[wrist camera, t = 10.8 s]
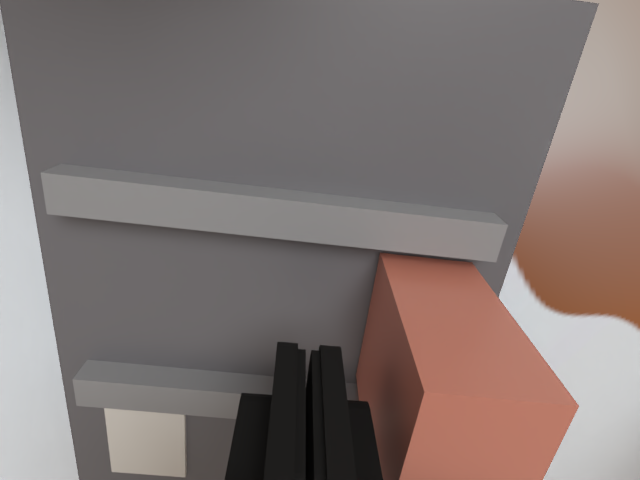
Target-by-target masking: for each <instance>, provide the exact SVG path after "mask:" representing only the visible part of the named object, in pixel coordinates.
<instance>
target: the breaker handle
mask: <svg viewBox="0 0 640 480" xmlns="http://www.w3.org/2000/svg"><path fill="white" fill-rule="evenodd" d="M356 380H357V388H358V396H359V401H368V403H369V406H370V410H371V416H372V421H373V427H374V432H375V438H376V443H377V449H378V454H379V460H380V465H381V471H382V476H383V480H543V478H544V476H545V474H546V472H547V470H548V468H549V466H550V464H551V462H552V460H553V458H554V456H555V454H556V452H557V450H558V448H559V446H560V444H561V442H562V440H563V437H564V435H565V433H566V431H567V429H568V427H569V425H570V423H571V421H572V419H573V417H574V415H575V413H576V411H577V409H578V407H579V405H578V404H577V403H576V401H575V400H574V399H573V397H572V396H571V395H570V393H569V392H568V391H567V389H566V388H565V387H564V385H563V384H562V383H561V381H560V380H559V379H558V377H557V376H556V374H555V373H554V372H553V370H552V369H551V368H550V366H549V365H548V364H547V362H546V361H545V360H544V358H543V357H542V356H541V354H540V353H539V352H538V350H537V349H536V348H535V346H534V345H533V344H532V342H531V341H530V340H529V338H528V337H527V336H526V334H525V333H524V332H523V330H522V329H521V328H520V326H519V325H518V324H517V322H516V321H515V320H514V318H513V317H512V316H511V314H510V313H509V311H508V310H507V309H506V307H505V306H504V305H503V303H502V302H501V301H500V299H499V298H498V297H497V295H496V294H495V293H494V291H493V290H492V289H491V287H490V286H489V285H488V283H487V282H486V281H485V279H484V278H483V277H482V275H481V274H480V273H479V271H478V270H477V269H476V267H475V266H474V265H473V263H472V262H462V261H453V260H444V259H434V258H425V257H416V256H406V255H397V254H388V253H380V256H379V261H378V266H377V271H376V276H375V281H374V286H373V291H372V296H371V301H370V306H369V311H368V317H367V322H366V327H365V332H364V337H363V342H362V347H361V352H360V357H359V362H358V367H357V372H356Z"/></svg>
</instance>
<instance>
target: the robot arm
mask: <svg viewBox="0 0 640 480" xmlns="http://www.w3.org/2000/svg"><path fill="white" fill-rule="evenodd" d="M225 480H383V476H382V471H381V465H380V460H379V454H378V449H377V443H376V438H375V432H374V427H373V421H372V416H371V410H370V406H369V403H368V401H354V400H347V392H346V384H345V376H344V367H343V359H342V351H341V347H340V346H327V345H320V346H319V350H311V354H310V361H309V368H308V375H307V383H306V349H298V343H289V342H277V350H276V360H275V370H274V380H273V390H272V395H268V394H253V393H241V397H240V402H239V407H238V412H237V417H236V422H235V428H234V433H233V438H232V443H231V449H230V454H229V459H228V464H227V469H226V475H225Z"/></svg>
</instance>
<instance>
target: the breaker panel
mask: <svg viewBox="0 0 640 480" xmlns="http://www.w3.org/2000/svg"><path fill="white" fill-rule="evenodd" d="M0 6H1V12H2V18H3V24H4V30H5V36H6V42H7V48H8V54H9V60H10V66H11V72H12V78H13V84H14V90H15V96H16V102H17V108H18V114H19V120H20V126H21V132H22V138H23V144H24V150H25V156H26V162H27V168H28V174H29V180H30V186H31V192H32V198H33V204H34V210H35V216H36V222H37V228H38V234H39V240H40V246H41V252H42V258H43V264H44V270H45V276H46V282H47V288H48V294H49V300H50V306H51V313H52V319H53V325H54V331H55V337H56V343H57V349H58V355H59V361H60V367H61V373H62V379H63V385H64V391H65V397H66V403H67V409H68V415H69V421H70V427H71V433H72V439H73V445H74V451H75V457H76V463H77V469H78V475H79V480H225V475H226V469H227V464H228V459H229V454H230V449H231V443H232V438H233V433H234V428H235V422H236V417H237V412H238V407H239V402H240V397H241V393H253V394H268V395H272V390H273V380H274V370H275V360H276V350H277V342H289V343H298V349H306V383H307V375H308V368H309V361H310V354H311V350H319V346H320V345H327V346H340V347H341V351H342V359H343V367H344V376H345V384H346V392H347V400H354V401H359V396H358V388H357V380H356V372H357V367H358V362H359V357H360V352H361V347H362V342H363V337H364V332H365V327H366V322H367V317H368V311H369V306H370V301H371V296H372V291H373V286H374V281H375V276H376V271H377V266H378V261H379V256H380V253H388V254H397V255H406V256H416V257H425V258H434V259H444V260H453V261H462V262H472V263H473V265H474V266H475V267H476V269H477V270H478V271H479V273H480V274H481V275H482V277H483V278H484V279H485V281H486V282H487V283H488V285H489V286H490V287H491V289H492V290H493V291H494V293H495V294H496V295H497V297H499V294H500V291H501V288H502V285H503V282H504V279H505V276H506V273H507V270H508V267H509V264H510V262H511V259H512V256H513V253H514V250H515V247H516V244H517V241H518V238H519V235H520V232H521V229H522V227H523V223H524V220H525V218H526V215H527V212H528V209H529V206H530V203H531V200H532V197H533V194H534V191H535V189H536V185H537V183H538V180H539V177H540V174H541V171H542V168H543V165H544V162H545V159H546V156H547V153H548V151H549V148H550V145H551V141H552V139H553V136H554V133H555V130H556V127H557V124H558V121H559V118H560V115H561V112H562V110H563V107H564V104H565V101H566V98H567V95H568V92H569V89H570V86H571V83H572V80H573V77H574V75H575V72H576V69H577V65H578V63H579V60H580V57H581V54H582V51H583V48H584V45H585V42H586V40H587V37H588V34H589V31H590V28H591V25H592V22H593V19H594V16H595V13H596V10H597V7H598V4H597V3H590V2H583V1H576V0H0Z"/></svg>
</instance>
